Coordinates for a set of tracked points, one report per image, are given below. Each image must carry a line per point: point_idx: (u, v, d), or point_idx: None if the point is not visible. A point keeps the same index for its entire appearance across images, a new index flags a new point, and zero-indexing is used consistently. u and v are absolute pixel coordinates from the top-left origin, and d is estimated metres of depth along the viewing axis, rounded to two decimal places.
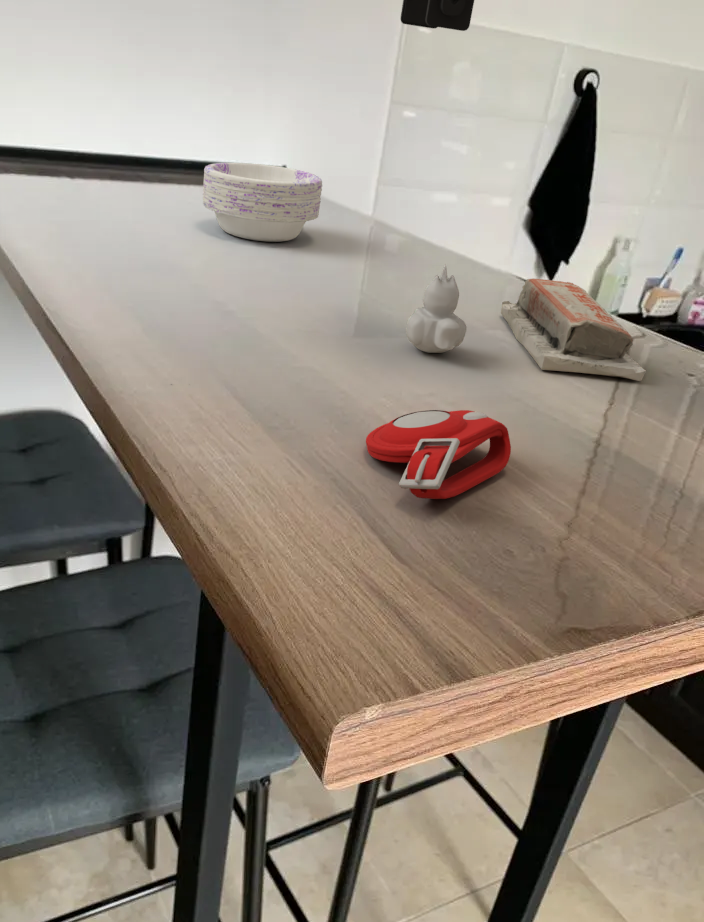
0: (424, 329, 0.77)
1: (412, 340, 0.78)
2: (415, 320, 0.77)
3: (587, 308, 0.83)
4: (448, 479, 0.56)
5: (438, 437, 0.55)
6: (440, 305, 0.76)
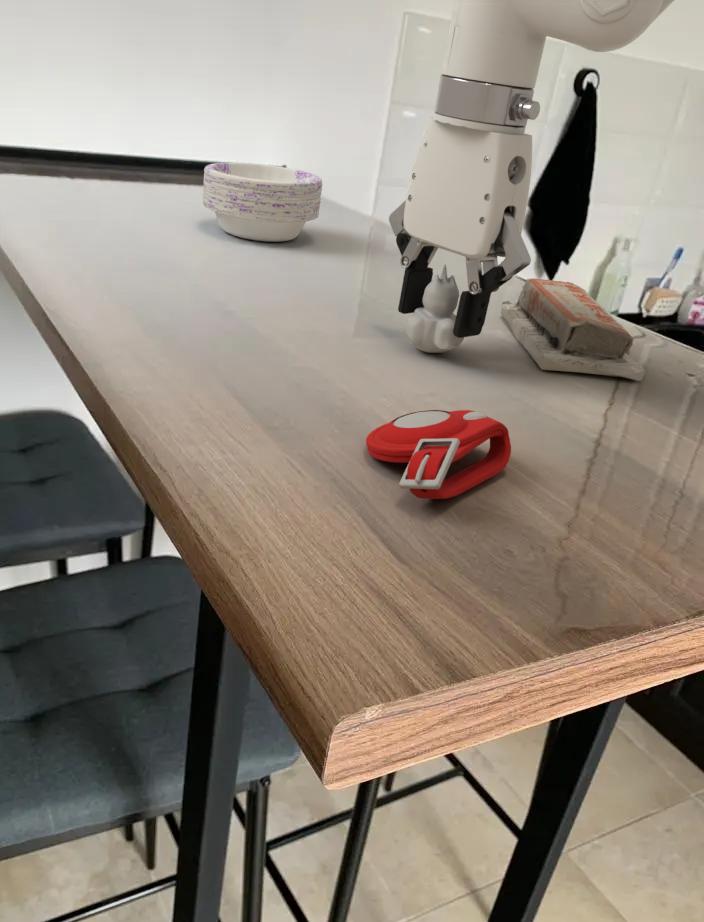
0: (424, 329, 0.77)
1: (412, 340, 0.78)
2: (414, 320, 0.77)
3: (587, 308, 0.83)
4: (448, 479, 0.56)
5: (438, 437, 0.55)
6: (440, 305, 0.76)
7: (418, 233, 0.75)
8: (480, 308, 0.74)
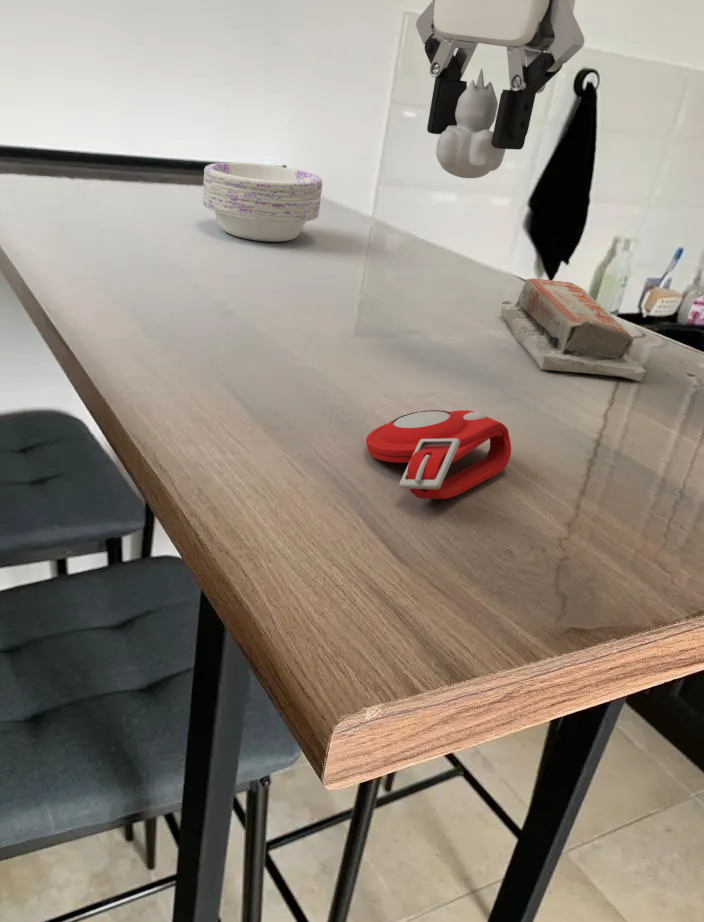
0: (457, 144, 0.67)
1: (443, 160, 0.68)
2: (446, 135, 0.67)
3: (587, 308, 0.83)
4: (448, 479, 0.56)
5: (438, 437, 0.55)
6: (476, 115, 0.66)
7: (451, 28, 0.65)
8: (523, 110, 0.64)
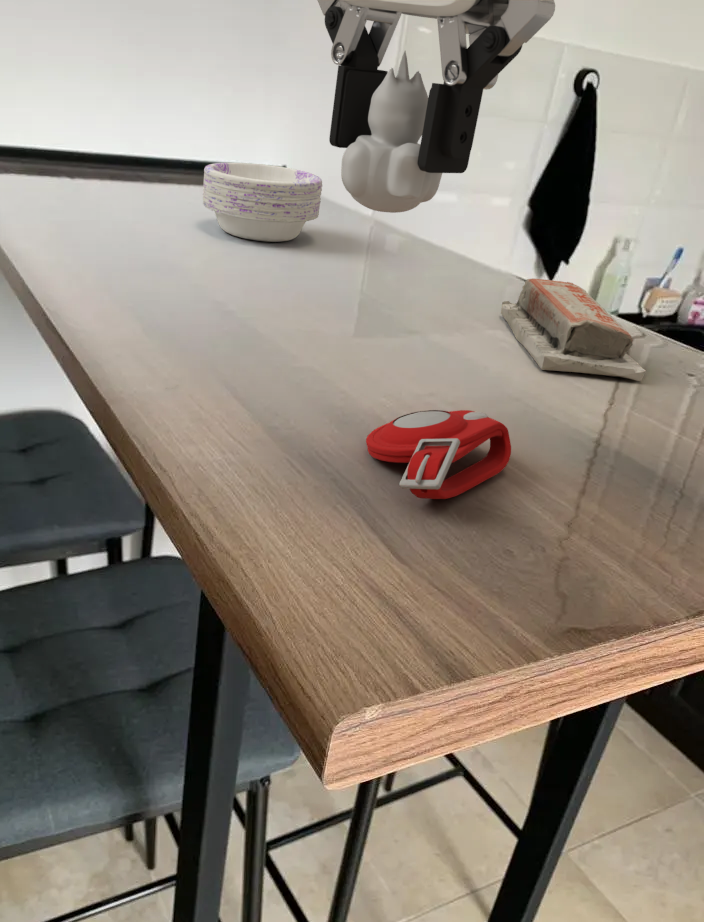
0: (369, 164, 0.45)
1: (350, 186, 0.46)
2: (353, 150, 0.45)
3: (587, 308, 0.83)
4: (448, 479, 0.56)
5: (438, 437, 0.55)
6: (397, 121, 0.44)
7: None
8: (464, 115, 0.42)
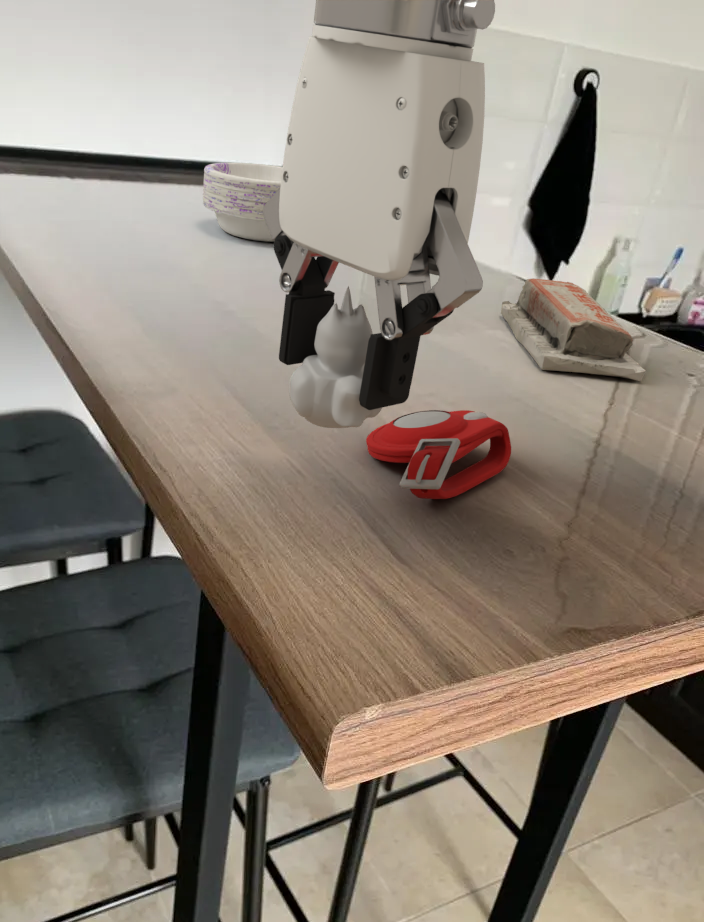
0: (314, 393, 0.47)
1: (297, 410, 0.48)
2: (299, 378, 0.47)
3: (587, 308, 0.83)
4: (448, 479, 0.56)
5: (438, 437, 0.55)
6: (340, 355, 0.46)
7: (300, 236, 0.45)
8: (402, 361, 0.44)
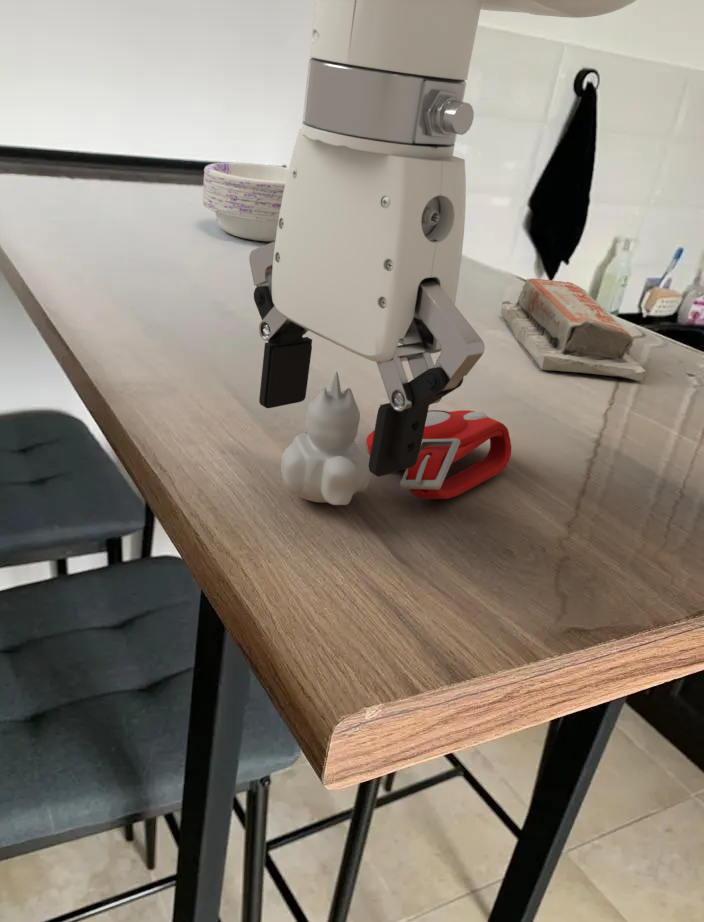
0: (305, 472, 0.49)
1: (288, 487, 0.50)
2: (290, 457, 0.50)
3: (587, 308, 0.83)
4: (449, 479, 0.56)
5: (439, 437, 0.55)
6: (329, 437, 0.49)
7: (292, 313, 0.47)
8: (411, 430, 0.45)
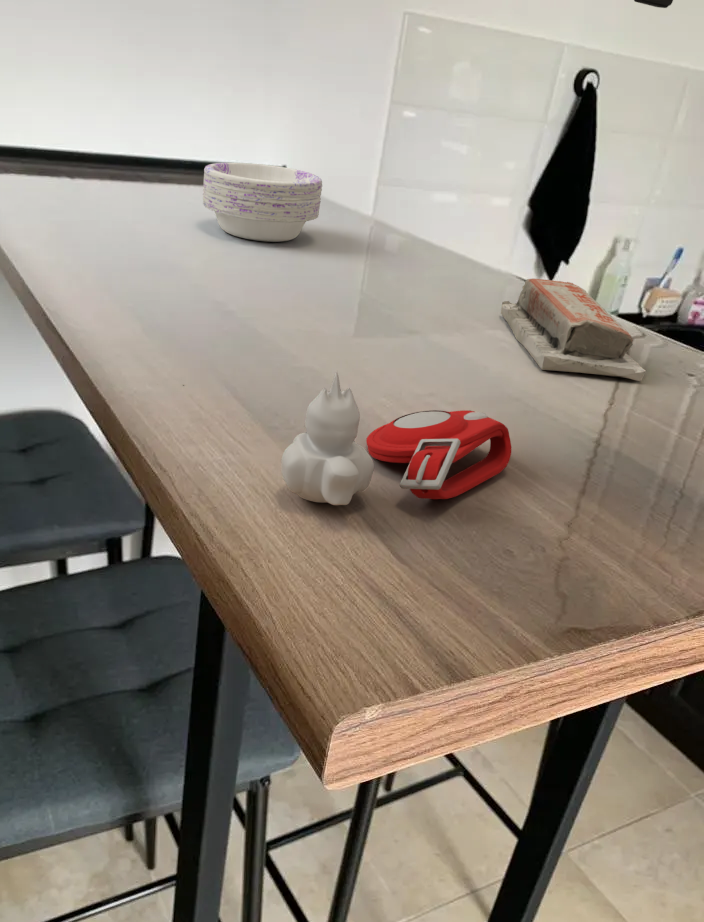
0: (305, 472, 0.49)
1: (288, 487, 0.50)
2: (290, 457, 0.50)
3: (587, 308, 0.83)
4: (449, 479, 0.56)
5: (439, 437, 0.55)
6: (329, 437, 0.49)
7: None
8: None
